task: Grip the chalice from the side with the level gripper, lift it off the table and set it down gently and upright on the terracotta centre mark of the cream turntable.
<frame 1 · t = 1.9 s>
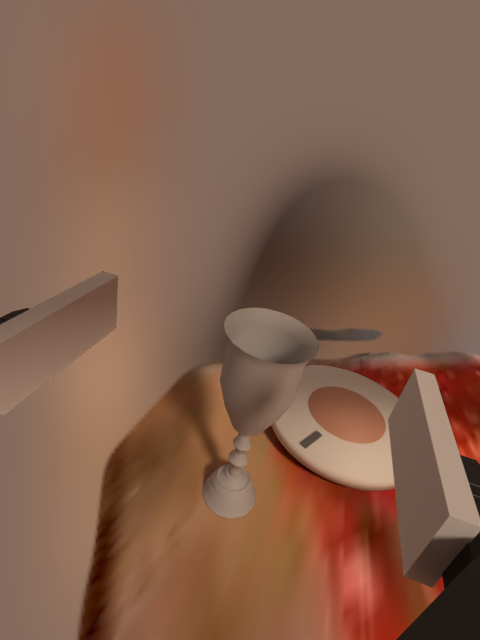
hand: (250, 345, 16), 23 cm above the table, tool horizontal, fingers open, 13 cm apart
turntable: (344, 417, 44), point 3 cm above the table, hinge at 0.0°
chalice: (228, 493, 35), on the table
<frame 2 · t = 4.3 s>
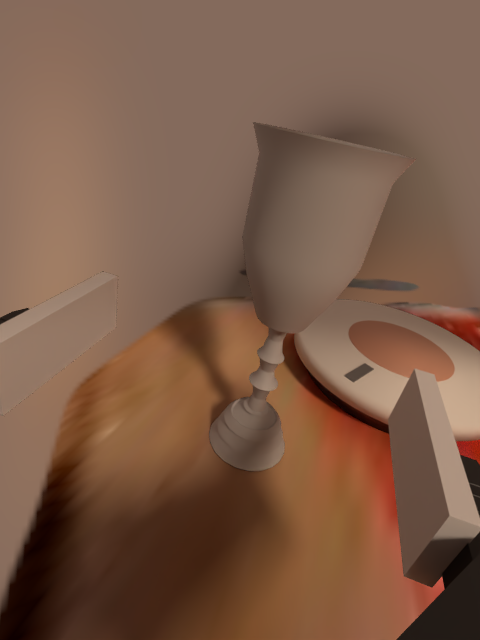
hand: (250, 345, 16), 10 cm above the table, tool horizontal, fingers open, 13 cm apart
turntable: (396, 354, 33), point 3 cm above the table, hinge at 0.0°
chalice: (246, 440, 25), on the table
turntable base: (385, 377, 34), on the table
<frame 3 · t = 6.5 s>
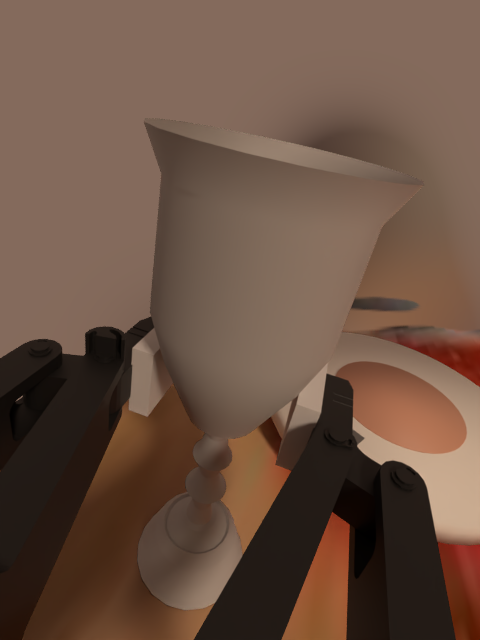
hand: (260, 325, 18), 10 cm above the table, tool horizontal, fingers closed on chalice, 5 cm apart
turntable: (393, 408, 26), point 3 cm above the table, hinge at 0.0°
chalice: (190, 551, 18), on the table, touching gripper
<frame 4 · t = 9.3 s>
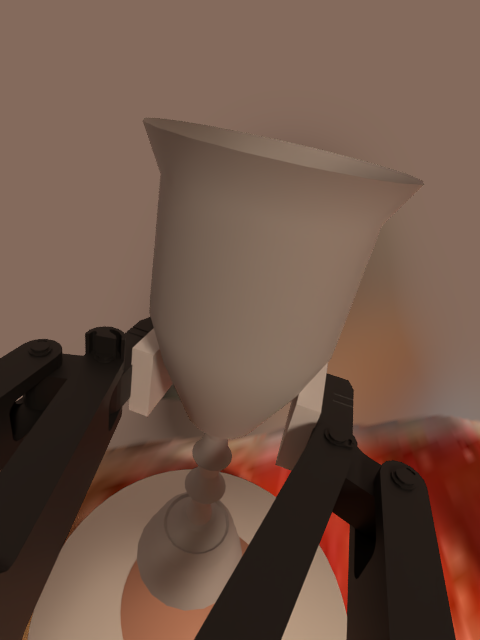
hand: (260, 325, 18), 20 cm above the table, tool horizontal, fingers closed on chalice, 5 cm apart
turntable: (198, 604, 22), point 3 cm above the table, hinge at 0.0°
chalice: (190, 551, 18), point 10 cm above the table, touching gripper
when the fingers open (14 cm above the table, at t = 12.3 s): chalice moves 1 cm, resting on turntable.
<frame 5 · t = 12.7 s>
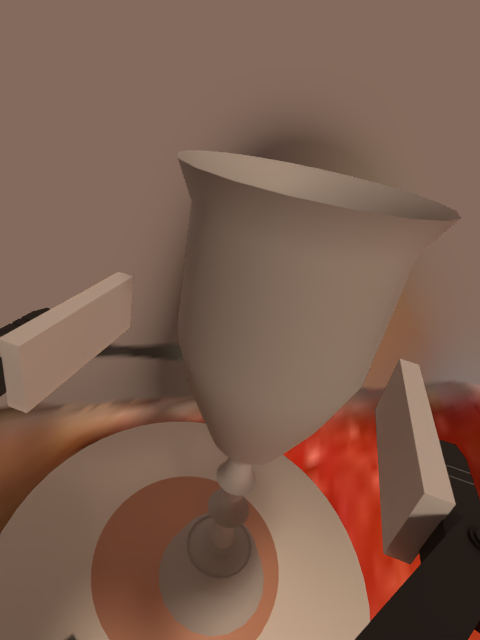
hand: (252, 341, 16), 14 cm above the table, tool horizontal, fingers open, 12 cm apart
turntable: (187, 564, 19), point 3 cm above the table, hinge at 0.0°, touching chalice
chalice: (211, 573, 18), point 3 cm above the table, touching turntable
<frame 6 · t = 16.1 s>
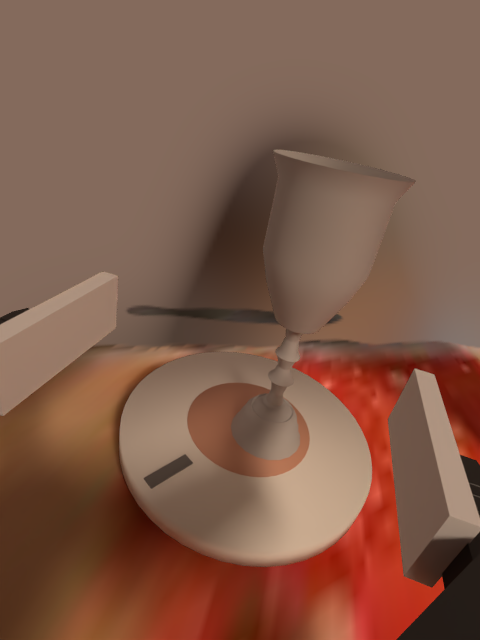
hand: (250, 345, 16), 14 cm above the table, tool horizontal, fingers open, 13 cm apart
turntable: (247, 430, 28), point 3 cm above the table, hinge at 0.0°, touching chalice
chalice: (265, 433, 27), point 3 cm above the table, touching turntable
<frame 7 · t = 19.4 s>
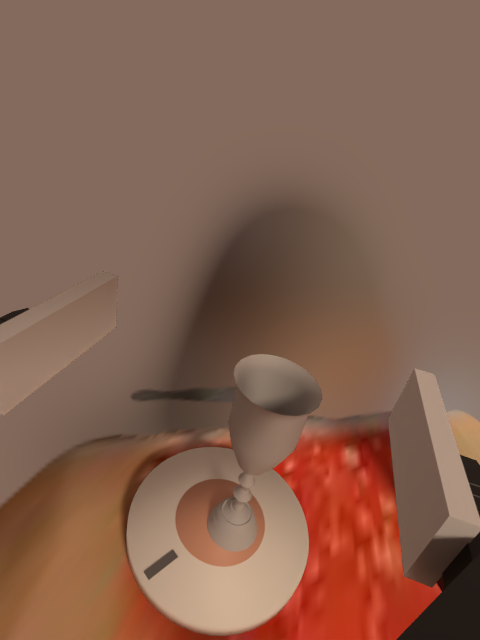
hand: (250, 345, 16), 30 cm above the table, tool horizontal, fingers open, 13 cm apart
turntable: (219, 522, 38), point 3 cm above the table, hinge at 0.0°, touching chalice
chalice: (232, 526, 37), point 3 cm above the table, touching turntable
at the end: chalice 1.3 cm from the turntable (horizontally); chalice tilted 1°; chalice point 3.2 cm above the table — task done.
